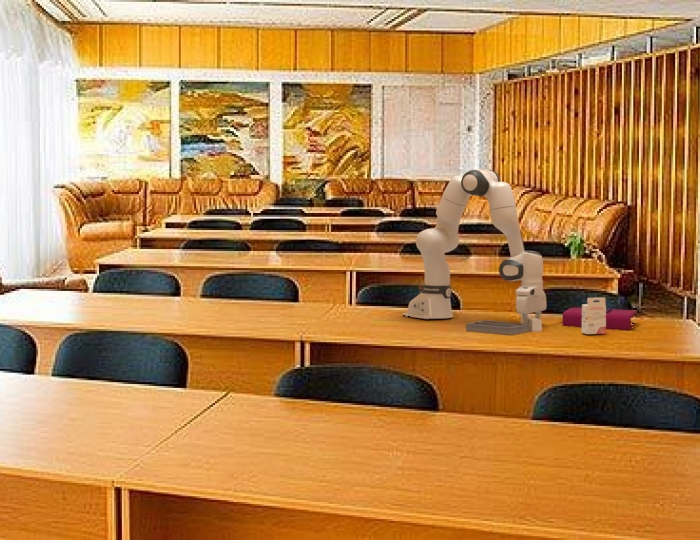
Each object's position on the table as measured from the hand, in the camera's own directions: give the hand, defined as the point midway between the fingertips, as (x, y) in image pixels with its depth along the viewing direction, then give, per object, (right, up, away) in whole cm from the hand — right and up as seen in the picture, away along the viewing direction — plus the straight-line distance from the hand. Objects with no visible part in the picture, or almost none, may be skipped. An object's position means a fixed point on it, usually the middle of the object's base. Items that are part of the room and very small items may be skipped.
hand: (531, 322), depth 442 cm
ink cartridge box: (+23, -4, -12) cm, 26 cm away
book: (+30, -3, +9) cm, 32 cm away
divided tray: (-15, -3, -8) cm, 17 cm away
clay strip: (0, -3, 0) cm, 3 cm away
